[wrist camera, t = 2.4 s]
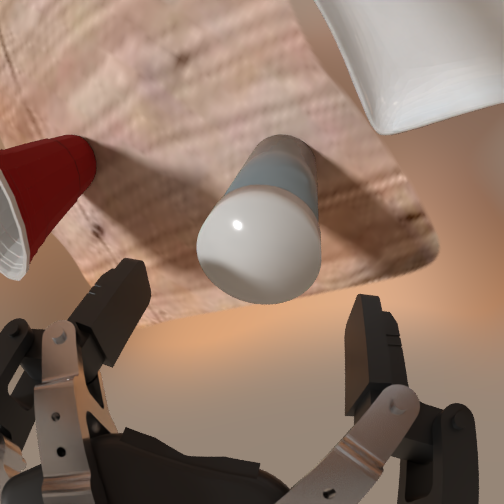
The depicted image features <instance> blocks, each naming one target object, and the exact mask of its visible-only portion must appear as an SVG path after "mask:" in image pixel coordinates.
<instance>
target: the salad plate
mask: <svg viewBox="0 0 504 504" xmlns="http://www.w3.org/2000/svg"><path fill="white" fill-rule="evenodd" d="M314 2H315V3H316V5H317V7H318V8H319V10H320V12H321V14H322V16H323V17H324V19H325V21H326V23H327V25H328V27H329V29H330V31H331V33H332V35H333V37H334V39H335V41H336V43H337V45H338V48H339V50H340V52H341V54H342V57H343V59H344V61H345V64H346V66H347V69H348V71H349V74H350V76H351V79H352V82H353V84H354V87H355V89H356V92H357V94H358V96H359V99H360V101H361V103H362V106H363V108H364V110H365V113H366V115H367V118H368V120H369V122H370V124H371V125H372V127H373V128H374V130H375V131H376V132H377V133H378V134H380V135H394V134H399V133H403V132H406V131H409V130H413V129H417V128H421V127H424V126H428V125H430V124H434V123H437V122H440V121H443V120H446V119H450V118H453V117H456V116H459V115H463V114H466V113H470V112H473V111H476V110H480V109H484V108H487V107H490V106H494V105H498V104H502V103H504V0H314Z"/></svg>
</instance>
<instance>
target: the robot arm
mask: <svg viewBox="0 0 504 504" xmlns="http://www.w3.org/2000/svg"><path fill="white" fill-rule="evenodd" d="M150 298H151V289H150V285H149V281H148V276H147V272H146V267H145V264H144V262H143V261H141V260H135V259H129V258H124V259H123V260H122V261H121V262H120V263H119V264H118V266H117V267H116V268H115V269H113V268H112V269H111V270H109V271H108V272H106V273H105V274H103V275H102V276H101V277H100V278H99V280H98V281H97V282H96V283H95V286H93V287H92V288H91V290H90V291H89V294H87V295H86V296H85V297H84V299H83V300H82V301H81V302H80V304H79V305H78V306H77V308H76V309H75V310H74V312H73V313H72V314H71V316H70V317H69V318H68V320H60V321H56V322H54V323H52V324H50V325H49V326H48V327H47V328H46V330H43V329H31V328H30V327H29V325H28V323H27V322H26V321H25V320H24V319H21V318H19V319H14V320H12V321H10V322H9V323H8V324H7V325H6V326H5V327H4V328H3V330H2V331H1V333H0V501H1V504H358V503H359V502H360V500H361V499H362V498H363V497H364V496H365V495H366V493H367V492H368V491H369V490H370V489H371V488H372V486H373V485H374V484H375V483H376V481H377V480H378V479H379V477H380V476H381V474H382V472H383V466H384V465H385V463H386V461H387V460H388V459H389V457H390V456H393V457H396V458H400V478H399V489H398V500H397V504H478V501H479V471H478V451H477V439H476V429H475V421H474V417H473V414H472V412H471V411H470V410H469V409H468V408H467V407H466V406H465V405H463V404H459V403H454V404H451V405H449V406H448V407H446V408H445V409H444V410H442V409H439V408H436V407H433V406H429V405H426V404H424V403H422V402H420V401H419V399H418V397H417V395H416V393H415V392H414V391H413V390H412V389H410V388H409V386H408V382H407V374H406V368H405V362H404V356H403V350H402V348H401V346H402V344H401V339H400V338H399V336H400V334H399V330H398V324H397V322H396V320H395V319H394V317H393V316H392V314H391V313H390V312H384V311H382V308H381V303H380V298H379V297H378V296H373V295H364V294H358V295H357V297H356V300H355V303H354V305H353V308H352V311H351V313H350V316H349V319H348V321H347V324H346V329H345V416H354V426H353V427H352V428H351V429H350V430H349V431H348V433H347V434H346V435H345V436H344V437H343V438H342V439H341V440H340V441H339V442H338V443H337V445H336V446H335V447H334V448H333V449H332V450H331V451H330V452H329V453H328V454H327V455H326V456H325V457H324V458H323V459H322V460H321V461H320V462H319V463H318V464H317V465H316V466H315V467H314V468H313V469H312V470H311V471H310V472H308V473H307V474H306V475H305V476H304V477H303V478H302V479H301V480H300V481H299V482H297V483H296V484H295V485H294V486H293V487H292V488H291V489H289V488H288V487H287V486H286V485H285V484H284V483H283V482H282V481H281V480H279V479H278V478H276V477H275V476H273V475H271V474H269V473H268V472H266V471H263V470H261V469H259V467H260V463H256V462H250V461H244V460H238V459H233V458H228V457H196V456H186V455H183V454H182V453H180V452H178V451H176V450H175V449H173V448H171V447H169V446H168V445H166V444H165V443H163V442H161V441H160V440H158V439H156V438H154V437H152V436H149V435H146V434H143V433H140V432H137V431H134V430H132V429H129V428H127V427H126V428H125V430H124V432H123V433H118V431H117V428H116V426H115V424H114V422H113V420H112V418H111V416H110V413H109V410H108V405H107V400H106V396H105V391H104V387H103V381H102V375H101V372H100V370H99V369H100V368H101V366H102V364H104V365H107V366H110V367H113V366H114V364H115V362H116V361H117V359H118V357H119V355H120V353H121V351H122V350H123V348H124V346H125V344H126V343H127V341H128V339H129V337H130V335H131V334H132V332H133V330H134V329H135V327H136V325H137V323H138V322H139V320H140V318H141V317H142V315H143V313H144V312H145V310H146V308H147V306H148V305H149V302H150ZM19 365H21V366H22V368H23V369H24V372H23V374H22V376H21V378H20V379H19V381H18V383H17V385H16V387H15V389H14V390H13V392H12V394H11V395H9V393H8V384H9V382H10V380H11V379H12V377H13V375H14V373H15V372H16V370H17V368H18V366H19ZM35 420H36V430H37V439H38V447H39V453H40V459H41V464H40V465H38V466H35V467H33V468H31V469H29V470H27V471H24V472H22V473H21V470H24V469H25V468H26V461H25V459H24V458H23V457H22V450H23V447H24V445H25V442H26V440H27V438H28V435H29V433H30V431H31V429H32V426H33V424H34V422H35Z"/></svg>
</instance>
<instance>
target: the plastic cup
mask: <svg viewBox="0 0 504 504" xmlns="http://www.w3.org/2000/svg"><path fill="white" fill-rule="evenodd" d="M95 174H96V159H95V156H94V153H93V150H92V149H91V147H90V146H89V144H88V142H87V141H85V140H84V139H83V138H81V137H80V136H76V135H63V136H59V137H55V138H51V139H43V140H39V141H34V142H30V143H27V144H23V145H19V146H15V147H12V148H8V149H5V150H2V149H1V150H0V272H1V273H2V274H3V275H5V276H6V277H7V278H9V279H13V280H18V281H20V280H21V278H22V277H23V276H24V275H25V274H26V273H27V271H28V270H29V264H30V262H31V260H32V258H33V256H34V255H35V254H36V253H37V251H38V248H39V247H40V246H41V245H42V244H43V242H44V241H45V239H46V237H47V236H48V235H49V234H50V232H51V231H52V230H53V229H54V227H55V226H56V225H57V224H58V223H59V221H60V220H61V219H62V218H63V217H64V215H65V214H66V213H67V212H68V211H69V210H70V208H71V207H72V206H73V205H74V204H75V203H76V202H77V199H78V198H79V197H80V196H81V194H82V193H83V192H84V191H85V190H86V189H87V188H88V187H89V186H90V184H91V182H92V181H93V179H94V176H95Z"/></svg>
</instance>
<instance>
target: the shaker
mask: <svg viewBox="0 0 504 504" xmlns="http://www.w3.org/2000/svg"><path fill="white" fill-rule="evenodd" d="M197 256H198V260H199V263H200V265H201V267H202V269H203V271H204V272H205V274H206V276H207V277H208V278H209V279H210V280H211V282H213V283H214V284H215V285H216V286H217V287H218V288H219V289H221V290H222V291H223V292H225V293H227V294H228V295H230V296H232V297H234V298H237V299H239V300H242V301H245V302H249V303H254V304H278V303H283V302H286V301H289V300H292V299H294V298H296V297H298V296H300V295H301V294H303V293H304V292H305V291H306V290H308V289H309V288H310V286H311V285H312V284H313V283H314V281H315V280H316V278H317V276H318V274H319V270H320V267H321V232H320V227H319V224H318V190H317V168H316V160H315V157H314V154H313V152H312V151H311V149H310V148H309V147H308V146H307V145H306V144H305V143H304V142H303V141H301V140H300V139H298V138H295V137H293V136H289V135H275V136H271V137H268V138H266V139H264V140H263V141H261V142H260V143H259V144H258V145H257V146H256V148H255V149H254V150H253V152H252V153H251V155H250V156H249V158H248V159H247V161H246V162H245V164H244V165H243V167H242V169H241V170H240V172H239V173H238V175H237V176H236V178H235V179H234V181H233V182H232V184H231V185H230V187H229V189H228V190H227V192H226V193H225V195H224V196H223V197H222V198H221V199H220V200H219V201H218V203H217V204H216V205H215V207H214V208H213V210H212V211H211V213H210V214H209V216H208V217H207V219H206V221H205V222H204V224H203V225H202V227H201V229H200V231H199V234H198V238H197Z"/></svg>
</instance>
